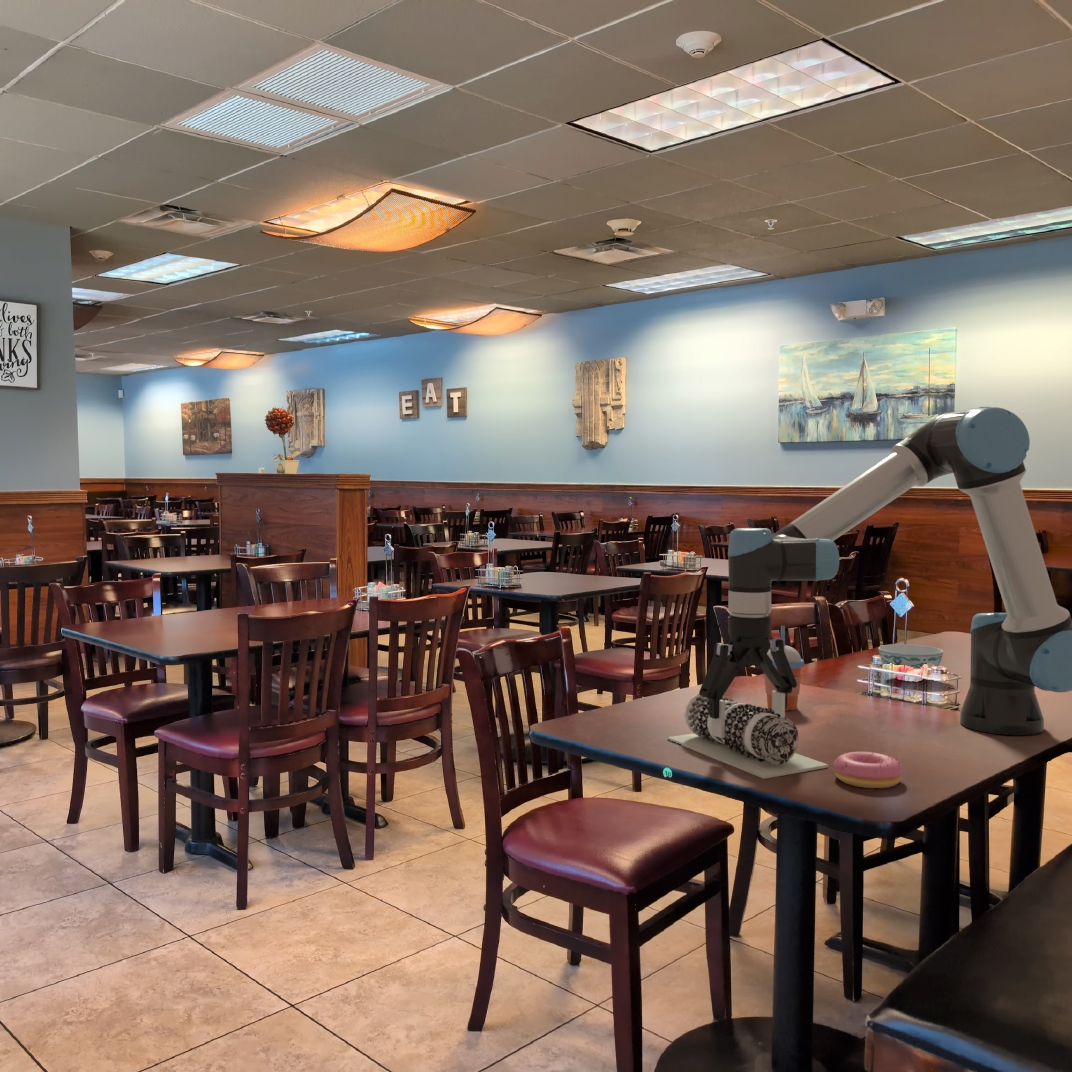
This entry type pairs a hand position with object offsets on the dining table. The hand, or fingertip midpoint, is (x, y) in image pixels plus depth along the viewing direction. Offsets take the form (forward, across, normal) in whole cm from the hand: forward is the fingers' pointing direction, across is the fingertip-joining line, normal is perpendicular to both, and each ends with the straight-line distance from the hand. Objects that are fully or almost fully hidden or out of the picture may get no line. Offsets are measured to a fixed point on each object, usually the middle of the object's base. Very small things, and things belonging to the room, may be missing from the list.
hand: (748, 731), depth 175 cm
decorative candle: (-1, 0, -14) cm, 14 cm away
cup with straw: (+4, -30, -26) cm, 40 cm away
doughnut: (+5, -8, +21) cm, 23 cm away
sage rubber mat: (+4, 0, -1) cm, 4 cm away
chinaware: (+4, -79, -35) cm, 87 cm away
